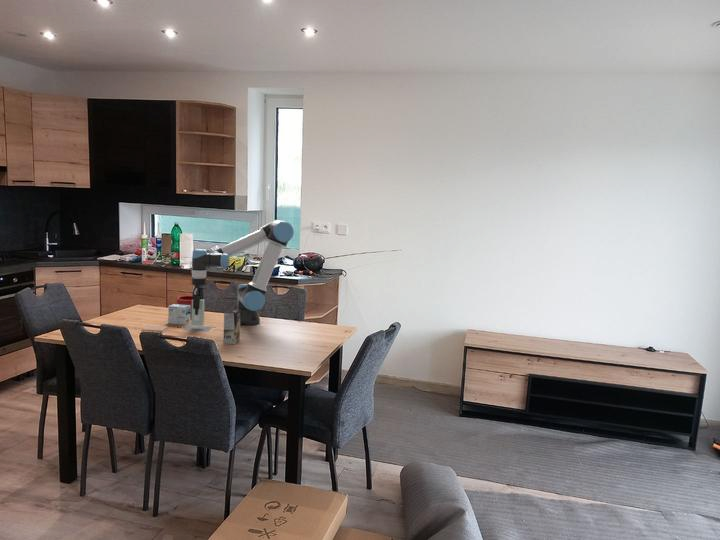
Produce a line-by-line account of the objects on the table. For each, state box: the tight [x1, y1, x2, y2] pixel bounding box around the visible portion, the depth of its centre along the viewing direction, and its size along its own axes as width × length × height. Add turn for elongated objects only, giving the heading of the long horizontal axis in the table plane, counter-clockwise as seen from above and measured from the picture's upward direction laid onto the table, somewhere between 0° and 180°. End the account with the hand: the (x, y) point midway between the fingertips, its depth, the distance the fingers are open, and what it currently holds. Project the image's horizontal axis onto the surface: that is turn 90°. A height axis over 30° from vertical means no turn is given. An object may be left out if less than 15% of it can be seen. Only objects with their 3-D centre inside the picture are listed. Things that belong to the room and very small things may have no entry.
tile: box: [140, 325, 169, 333], centre depth 294 cm, size 2×9×11 cm
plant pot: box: [176, 295, 193, 319], centre depth 332 cm, size 13×13×12 cm
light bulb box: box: [167, 303, 191, 326], centre depth 313 cm, size 11×7×11 cm, turn 84°
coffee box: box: [222, 309, 241, 345], centre depth 280 cm, size 9×6×16 cm
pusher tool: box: [190, 299, 206, 326], centre depth 301 cm, size 6×4×14 cm, turn 90°
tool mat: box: [182, 324, 214, 333], centre depth 303 cm, size 14×12×1 cm
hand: (198, 319), depth 302 cm, fingers closed on pusher tool, 3 cm apart
